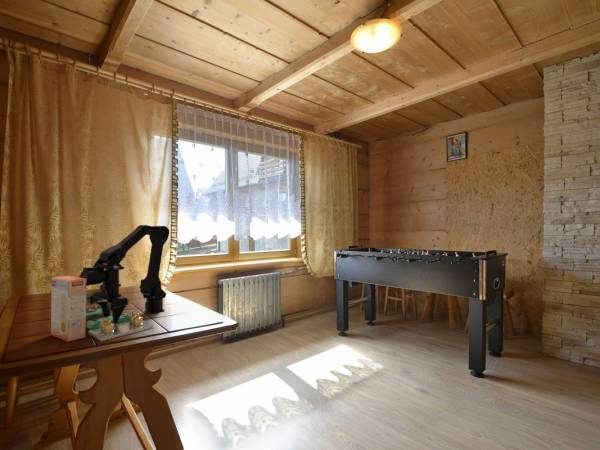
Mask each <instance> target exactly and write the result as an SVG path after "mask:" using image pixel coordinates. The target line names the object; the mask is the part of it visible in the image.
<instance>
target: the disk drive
mask: <svg viewBox="0 0 600 450" xmlns="http://www.w3.org/2000/svg"><path fill="white" fill-rule="evenodd" d="M109 316H112V311H110V314H109ZM99 318H104V316H103V312H102V309H101V307H100V305H94V306H88V307H87V306H86V322H87V321H90V320H95V319H99Z"/></svg>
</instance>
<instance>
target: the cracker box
mask: <svg viewBox="0 0 600 450" xmlns="http://www.w3.org/2000/svg"><path fill="white" fill-rule="evenodd" d="M86 295H87V286H86V279H84V278H79V276H73V275H62V276H61V275H60V276H55V277H51V300H50V301H51V305H50V306H51V307H50V308H51V313H50V314H51V316H50V317H51V318H50V319H51V321H50V335H51V336H53V337H55V338H58V339H59V340H62V341H65V342H67V343H69V342H73V341H77V340H81V339H84V338H86V337H87V336H86V333H87V332H86V331H87V329H86V328H87V321H86V308H87V301H86Z"/></svg>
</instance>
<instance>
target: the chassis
mask: <svg viewBox="0 0 600 450" xmlns="http://www.w3.org/2000/svg"><path fill="white" fill-rule="evenodd" d="M130 315H131V316H129V322H125V323H121V324H116V325H114V323H111V319H109V320H107V318H104V317H102V318H103V322H100V328H99V329H94V330H90V329H89V330H88V335H90V336H91V337H93V338H95V339H96V340H98V341H99V342H104V341H107V340H111V338H112V339H114V338H115V337H116V338H118V337H122V336H126V335H130V334H134V333H139V332H143V331H146V330H149V329H153V328H154V327H155V325H154V324H152V323H151V322H147V321H145V320H143V317H144V316H141V315H140V313H139V312H138V313H136V311H132V312H131V314H130Z"/></svg>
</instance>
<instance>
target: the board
mask: <svg viewBox="0 0 600 450" xmlns="http://www.w3.org/2000/svg"><path fill="white" fill-rule="evenodd" d="M131 315H132V314H129V313H127V312H124V313H122V314H121V316H120V318H119V320H118V322H117V323H115V324H114V325H116V324H121V323H125V322H129V316H131ZM103 318H107V320H109V319H111V323H113V317H112V315H111V316H109V317H102V318H97V319H92V320H87V321H86V328H87V329H88V330H89V331H90V330H94V329H99V328H100V322H103Z"/></svg>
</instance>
